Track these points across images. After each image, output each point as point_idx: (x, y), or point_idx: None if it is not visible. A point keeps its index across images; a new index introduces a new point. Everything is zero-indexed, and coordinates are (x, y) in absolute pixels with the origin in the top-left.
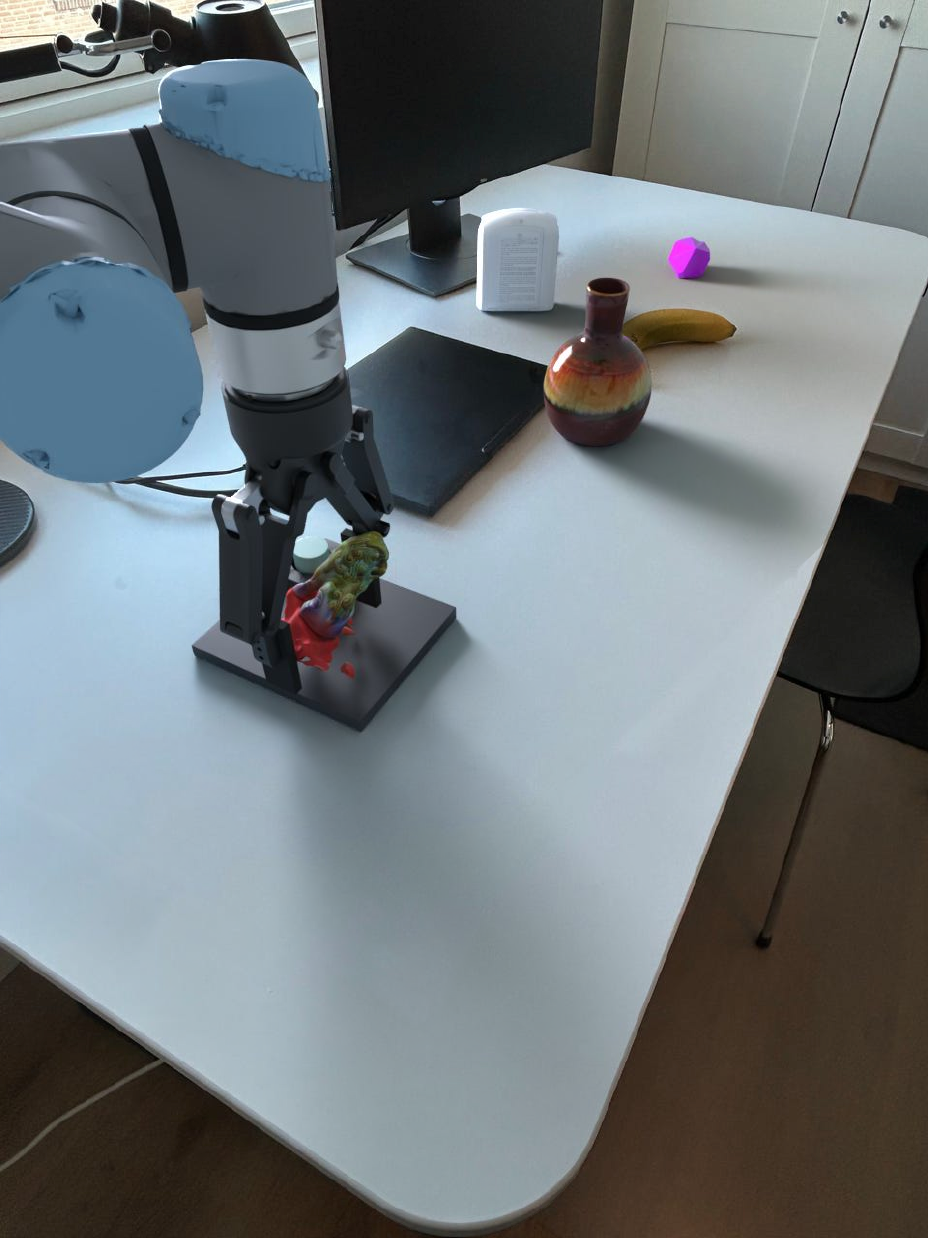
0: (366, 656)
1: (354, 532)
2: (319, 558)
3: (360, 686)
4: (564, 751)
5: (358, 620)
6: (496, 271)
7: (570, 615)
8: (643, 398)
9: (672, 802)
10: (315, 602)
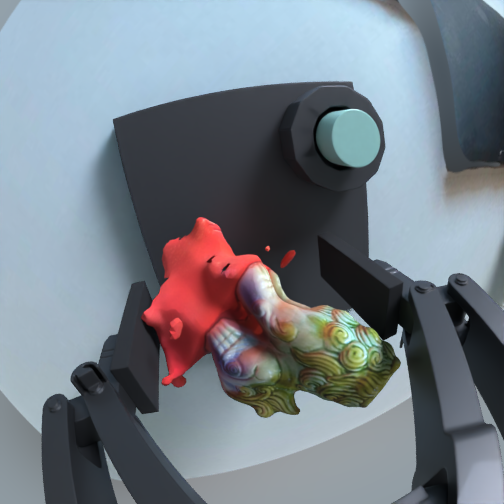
0: None
1: (398, 301)
2: (348, 165)
3: None
4: (282, 419)
5: (299, 247)
6: None
7: (393, 342)
8: None
9: (285, 448)
10: (232, 368)
